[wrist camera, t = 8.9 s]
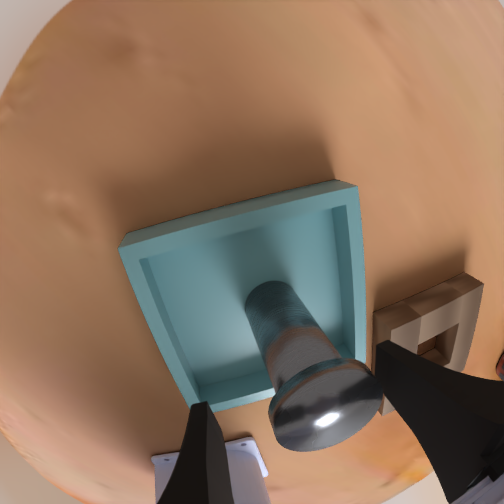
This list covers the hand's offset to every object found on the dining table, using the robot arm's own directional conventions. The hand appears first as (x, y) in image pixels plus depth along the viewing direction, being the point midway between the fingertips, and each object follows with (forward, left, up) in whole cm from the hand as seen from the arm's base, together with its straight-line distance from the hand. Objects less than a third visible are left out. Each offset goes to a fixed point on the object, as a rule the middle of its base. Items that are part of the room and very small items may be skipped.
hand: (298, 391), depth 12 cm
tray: (0, 0, -8) cm, 8 cm away
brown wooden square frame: (+13, -9, -8) cm, 18 cm away
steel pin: (+1, 0, -7) cm, 7 cm away
